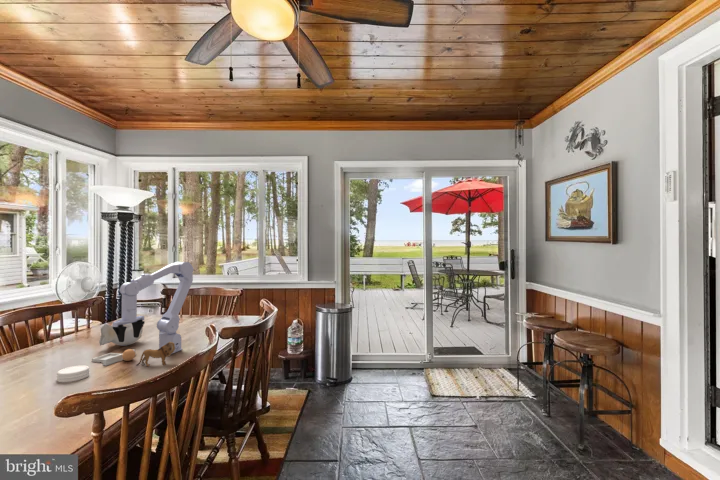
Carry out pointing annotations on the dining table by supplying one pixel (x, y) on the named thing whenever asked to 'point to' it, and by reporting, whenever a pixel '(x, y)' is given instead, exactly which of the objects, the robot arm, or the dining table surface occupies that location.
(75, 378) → the coaster
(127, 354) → the ball
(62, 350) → the dining table surface
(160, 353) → the lion figurine
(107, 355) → the tray
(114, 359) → the white picture ledge
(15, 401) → the dining table surface
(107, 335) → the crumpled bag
